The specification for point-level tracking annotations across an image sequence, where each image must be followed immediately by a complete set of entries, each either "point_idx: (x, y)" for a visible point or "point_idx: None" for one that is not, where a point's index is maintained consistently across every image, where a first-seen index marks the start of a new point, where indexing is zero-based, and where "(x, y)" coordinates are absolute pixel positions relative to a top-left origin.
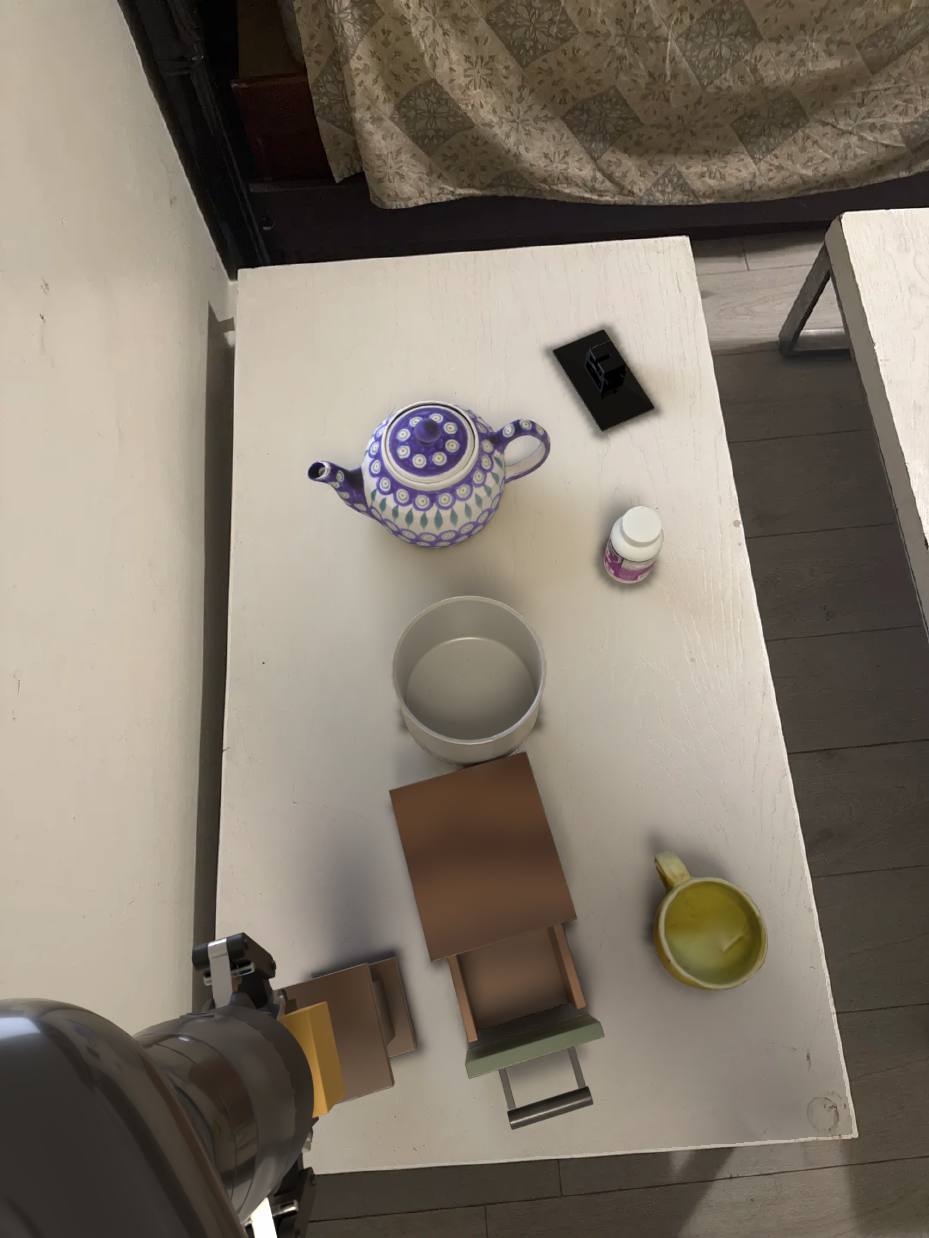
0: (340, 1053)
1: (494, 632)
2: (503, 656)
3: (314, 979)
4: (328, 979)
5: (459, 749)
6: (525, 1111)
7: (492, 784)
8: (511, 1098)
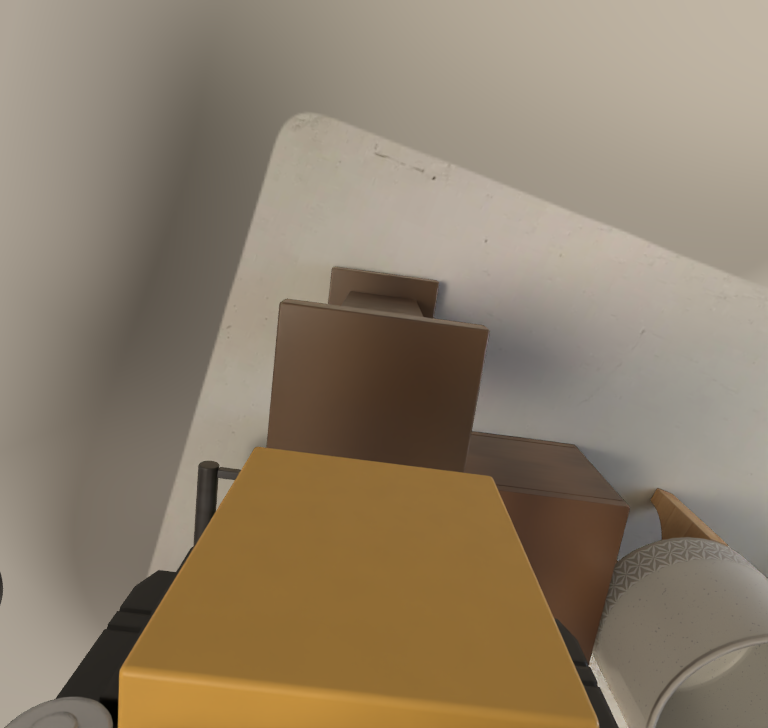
0: (340, 436)
1: (746, 696)
2: (701, 671)
3: (468, 436)
4: (458, 457)
5: (652, 657)
6: (210, 488)
7: (569, 623)
8: (228, 477)
